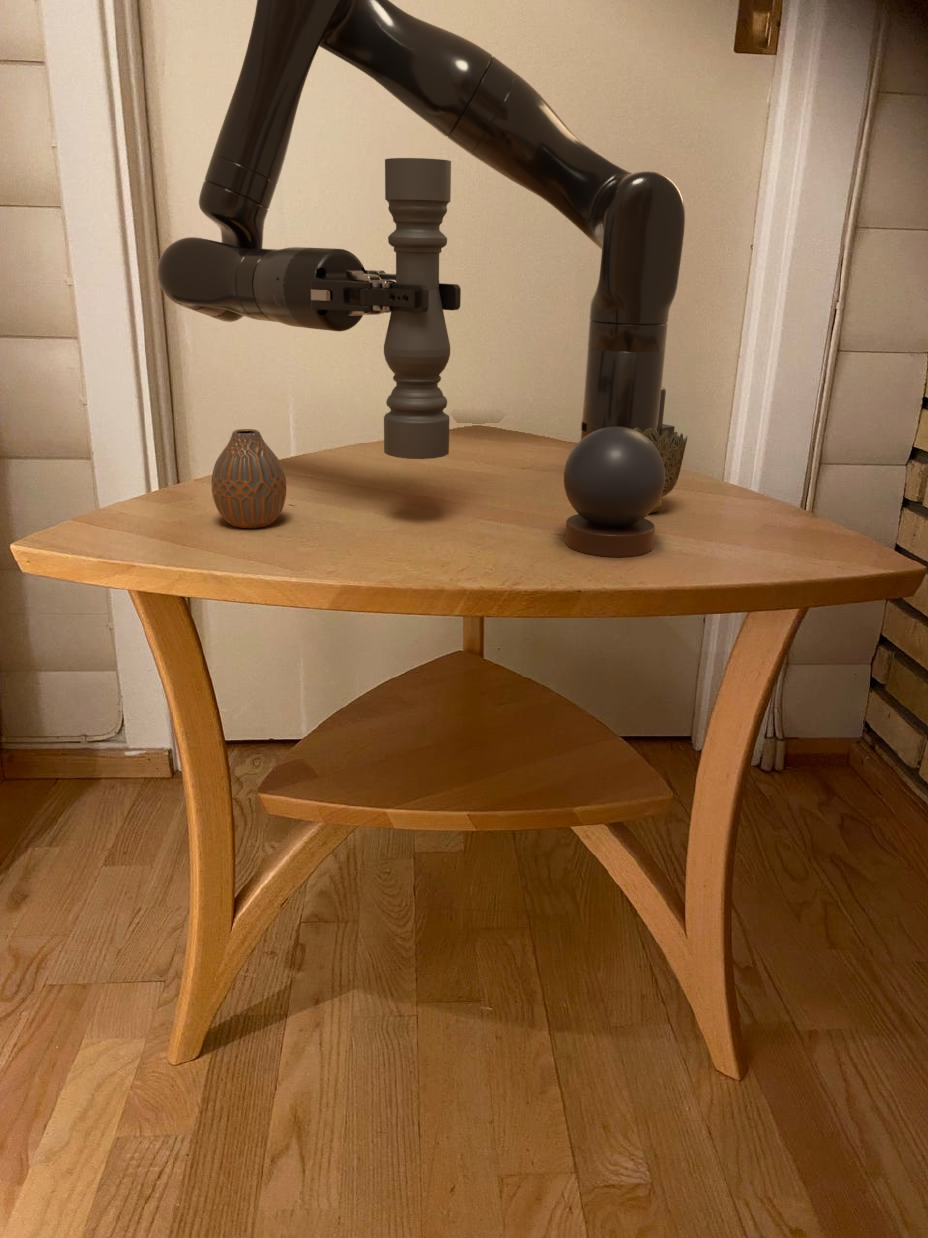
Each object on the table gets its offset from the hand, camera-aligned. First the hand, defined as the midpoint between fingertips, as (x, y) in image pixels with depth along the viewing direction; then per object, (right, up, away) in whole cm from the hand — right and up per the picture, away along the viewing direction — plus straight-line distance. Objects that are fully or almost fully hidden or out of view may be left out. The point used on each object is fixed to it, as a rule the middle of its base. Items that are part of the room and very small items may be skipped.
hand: (441, 298), depth 84 cm
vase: (-18, -19, +8) cm, 28 cm away
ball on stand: (+15, -21, +4) cm, 26 cm away
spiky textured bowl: (+21, -17, +16) cm, 31 cm away
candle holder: (-3, -12, +7) cm, 14 cm away
